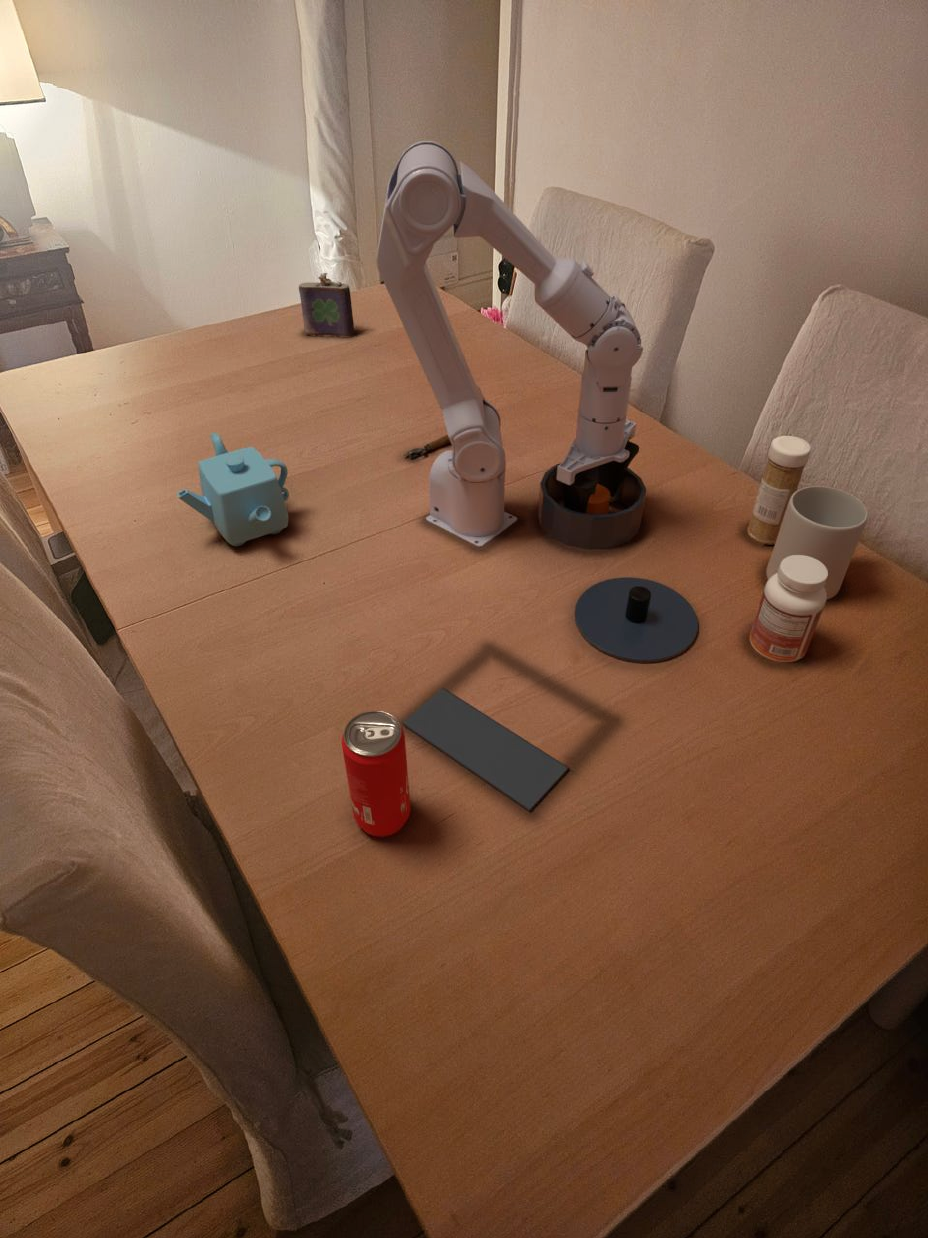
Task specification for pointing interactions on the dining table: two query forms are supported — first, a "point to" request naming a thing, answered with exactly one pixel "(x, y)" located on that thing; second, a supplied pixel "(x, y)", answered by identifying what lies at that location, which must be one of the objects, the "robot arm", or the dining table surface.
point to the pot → (588, 527)
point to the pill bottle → (790, 609)
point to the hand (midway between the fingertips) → (591, 506)
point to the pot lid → (636, 620)
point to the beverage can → (377, 772)
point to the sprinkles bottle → (778, 486)
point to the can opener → (429, 446)
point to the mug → (821, 531)
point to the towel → (486, 748)
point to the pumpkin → (598, 501)
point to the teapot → (240, 493)
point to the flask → (326, 308)
